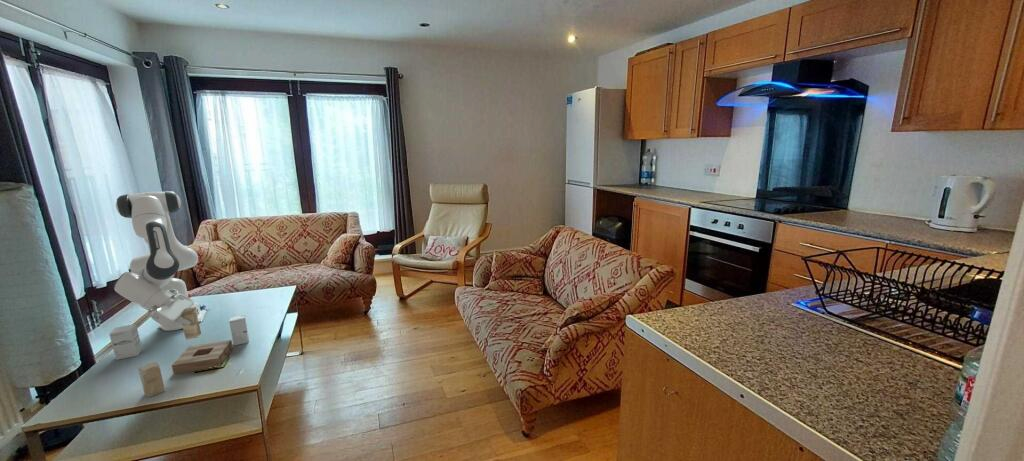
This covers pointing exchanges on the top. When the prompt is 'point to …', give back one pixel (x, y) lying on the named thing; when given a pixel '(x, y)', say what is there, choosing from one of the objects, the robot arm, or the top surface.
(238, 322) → the skincare box
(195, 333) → the peg
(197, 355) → the square hole block
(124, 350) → the supplement box
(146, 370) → the box
